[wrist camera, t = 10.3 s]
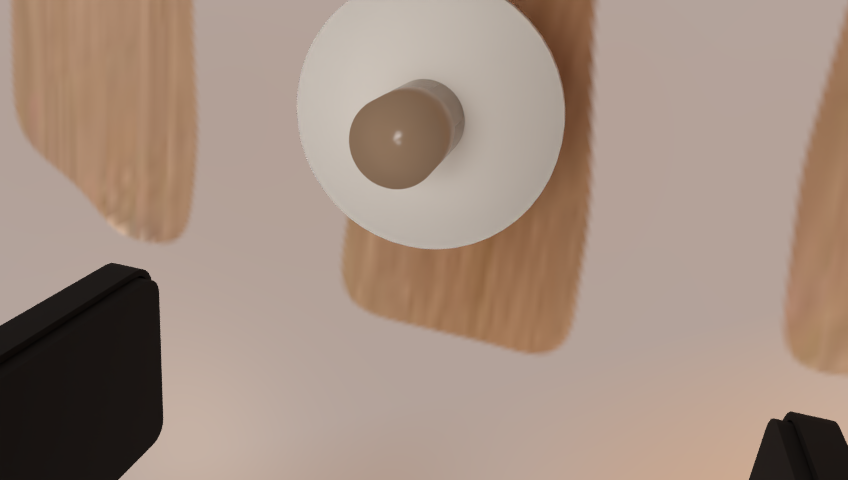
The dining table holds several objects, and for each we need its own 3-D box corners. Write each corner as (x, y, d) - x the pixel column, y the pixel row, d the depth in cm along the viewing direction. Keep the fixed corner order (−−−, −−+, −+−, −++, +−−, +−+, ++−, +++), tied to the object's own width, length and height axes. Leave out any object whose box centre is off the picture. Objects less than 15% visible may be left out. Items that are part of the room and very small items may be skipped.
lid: (510, -73, 27) (486, -84, 22) (602, 197, 30) (599, 243, 25) (265, 37, 31) (197, 48, 26) (365, 269, 33) (320, 322, 28)
